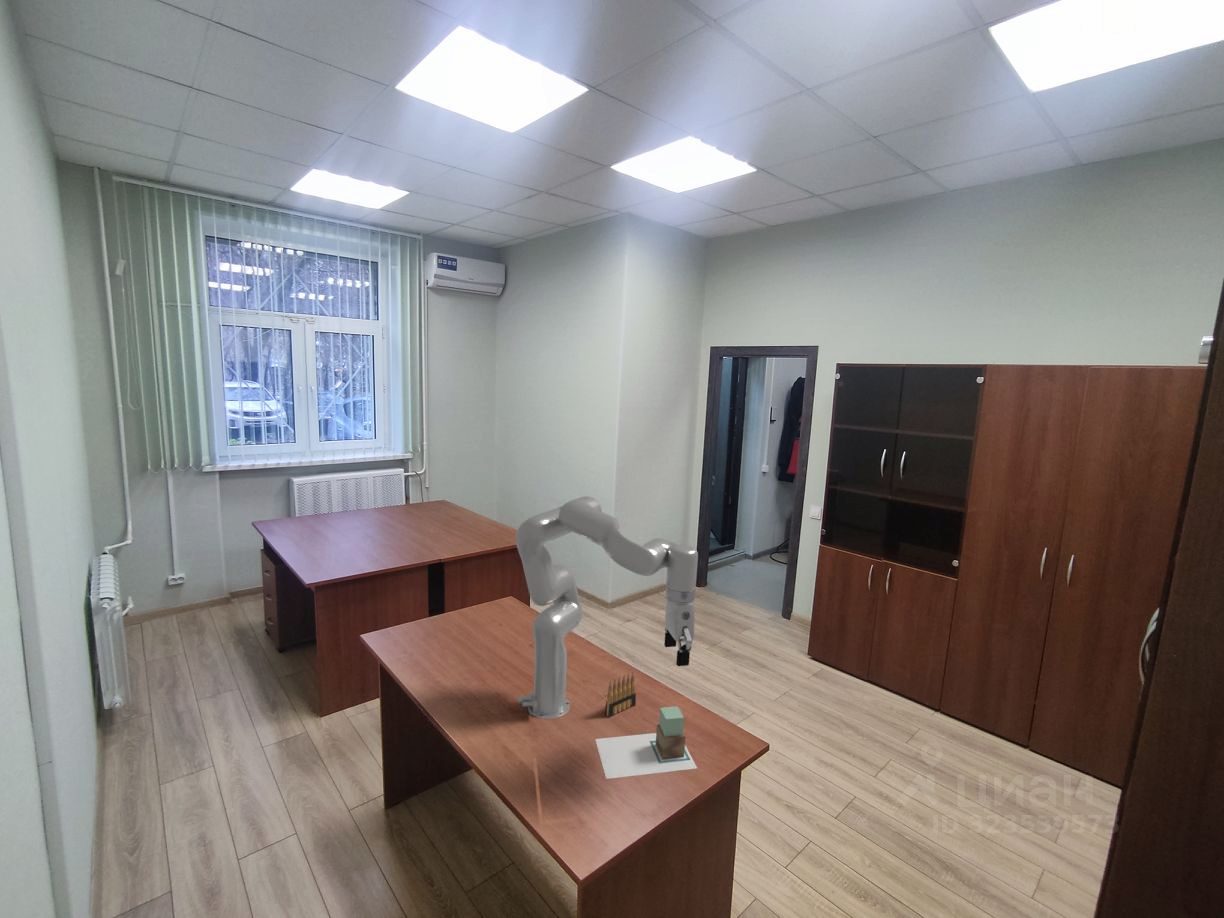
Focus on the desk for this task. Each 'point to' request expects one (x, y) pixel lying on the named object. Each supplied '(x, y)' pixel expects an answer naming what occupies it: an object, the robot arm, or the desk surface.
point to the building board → (637, 757)
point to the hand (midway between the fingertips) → (676, 655)
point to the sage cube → (671, 721)
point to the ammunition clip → (621, 695)
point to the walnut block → (670, 745)
